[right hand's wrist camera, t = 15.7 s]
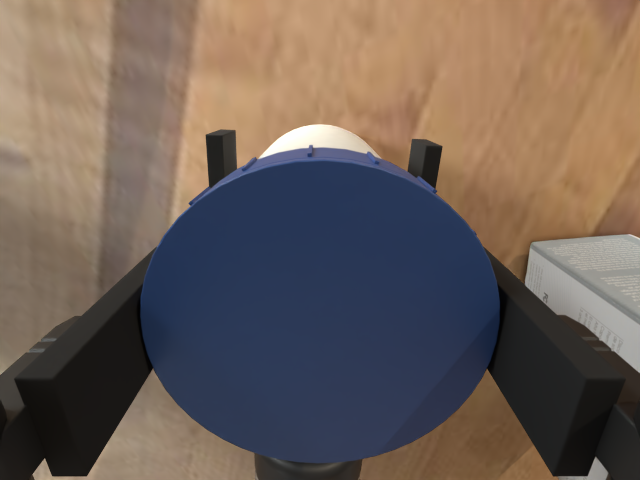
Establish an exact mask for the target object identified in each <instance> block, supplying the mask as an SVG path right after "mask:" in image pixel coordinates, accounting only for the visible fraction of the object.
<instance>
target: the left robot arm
mask: <svg viewBox="0 0 640 480" xmlns="http://www.w3.org/2000/svg"><path fill="white" fill-rule="evenodd" d="M206 146H207V161H208V176H209V187H210V188H212V187H213V186H214V185H216V184H217V183H218V182H219V181H220V180H222V179H223V178H225V177H226V176H228V175H229V174H231V173H232V172H234V171H235V170H237V159H236V132H235V130H218V131H215V132H212V133H209V134H207V135H206ZM441 152H442V146H441V145H438V144H436V143H433V142H431V141H428V140H424V139H412V144H411V151H410V158H409V166H408V172H409V173H410V174H411V175H413V176H414V177H415V178H417V177H418V176H419V177H421V178H422V179H423V180H424V181H426V182H427V183H428V184H429V185H431V186H432V187H433V188H434V189H435V188H436V182H437V176H438V170H439V164H440V158H441ZM361 465H362V459H359V460H354V461H346V462H338V463H304V462H294V461H287V460H281V459H276V458H272V457H268V456H264V455H260V454H257V453H255V480H360V471H361Z"/></svg>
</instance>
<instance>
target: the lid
mask: <svg viewBox="0 0 640 480" xmlns="http://www.w3.org/2000/svg"><path fill="white" fill-rule="evenodd" d="M436 192H437V190H435V189H434V188H433V187H432V186H431V185H429V184H428V183H427V182H426V181H424V180H423V179H422V178H421V177H419V176H418V177H417V178H415V177H414V176H413V175H411V174H410V173H409V172H407V171H405V170H403V169H401V168H399V167H398V166H396V165H394V164H392V163H390V162H388V161H385V160H383V159H380V158H377V157H375V156H374V155H373V154H372V153H371V152H369V151H368V152H367V154H365V153H361V152H356V151H352V150H348V149H338V148H326V147H318V148H313V145H309V148H300V149H294V150H289V151H283V152H278V153H275V154H272V155H269V156H266V157H263V158H260V159H256V157H255V158H252V159H251V160H250V161H249V162H248V163H247V164H246V165H245V166H243V167H240V168H238V169H237V170H235V171H234V172H232V173H231V174H229V175H228V176H226V177H225V178H223V179H222V180H220V181H219V182H218V183H217V184H216V185H214V186H213V187H212V188H210V187H208V188H206V189H205V190H204V191H203V192H201V193H200V194H199V195H198V196H197V197H195V198H194V199H193V200H192V201H191V202H189V204H190V205H191V206H190V207H189V208H188V209H187V210H186V211H185V212H184V213H183V214H181V215H180V216H179V217H178V219H177V220H176V221H175V222H174V224H173V225H172V226H171V227H170V229H169V230H168V231H167V232H166V234H165V235H164V236H163V238H162V240H161V242H160V243H159V245H158V247H157V248H156V250H155V252H154V254H153V256H152V258H151V261H150V264H149V266H148V269H147V272H146V274H145V279H144V284H143V288H142V293H141V309H140V319H141V328H142V336H143V340H144V344H145V347H146V351H147V355H148V357H149V359H150V362H151V364H152V366H153V369H154V371H155V373H156V375H157V376H158V378H159V380H160V381H161V383H162V384H163V386H164V388H165V389H166V391H167V392H168V393H169V394H170V396H171V397H172V398H173V399H174V400H175V402H176V403H177V404H178V405H179V406H180V407H181V408H182V409H183V410H184V411H185V412H186V413H187V414H188V415H189V416H190V417H191V418H192V419H194V420H195V421H196V422H198V423H199V424H200V425H202V426H203V427H204V428H206V429H207V430H208V431H210V432H212V433H213V434H215V435H217V436H218V437H220V438H222V439H223V440H225V441H228V442H230V443H232V444H234V445H236V446H238V447H240V448H243V449H246V450H248V451H251V452H254V453H257V454H260V455H264V456H268V457H272V458H276V459H281V460H287V461H294V462H304V463H338V462H346V461H354V460H359V459H364V458H368V457H373V456H377V455H380V454H383V453H386V452H389V451H392V450H395V449H397V448H400V447H402V446H404V445H406V444H409V443H411V442H413V441H415V440H417V439H418V438H420V437H422V436H424V435H425V434H427V433H429V432H430V431H432V430H433V429H434V428H436V427H437V426H439V425H440V424H441V423H443V422H444V421H445V420H447V419H448V418H449V417H450V416H451V415H452V414H453V413H454V412H455V411H456V410H458V409H459V408H460V406H461V405H462V404H463V403H464V402H465V401H466V400H467V398H468V397H469V396H470V395H471V394H472V392H473V391H474V389H475V388H476V386H477V385H478V383H479V382H480V380H481V379H482V377H483V375H484V373H485V371H486V369H487V367H488V365H489V363H490V361H491V358H492V355H493V352H494V348H495V345H496V342H497V336H498V330H499V324H500V299H499V293H498V287H497V281H496V277H495V274H494V271H493V268H492V265H491V262H490V260H489V258H488V256H487V254H486V252H485V250H484V248H483V246H482V244H481V242H480V240H479V239H478V238H477V236H476V235H477V234H476V233H475V232H474V231H473V230H472V229H471V228H470V227H469V225H468V224H467V223H466V221H465V220H464V219H463V218H462V217H461V216H460V215H459V214H458V213H456V212H455V211H454V210H453V209H452V208H451V207H450V206H449V205H448V204H447V203H446V202H445V201H444V200H443V199H441V198H440V197H439V196H438V195H437V194H435V193H436Z"/></svg>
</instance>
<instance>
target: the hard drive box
mask: <svg viewBox="0 0 640 480" xmlns="http://www.w3.org/2000/svg"><path fill="white" fill-rule="evenodd" d="M525 286H526V287H528V288H529V289H530V290H531V291H532V292H533V293H534V294H535V295H536V296H537V297H538V298H539V299H541V300H542V301H543V302H544V303H545V304H546V305H547V306H548V307H549V308H550V309H551V310H552V311H554V312H555V313H556V314H557V315H566V316H568V317H570V318H572V319H574V320H576V321H577V322H579V323H581V324H583V325H585V326H586V327H587V328H588V329H589V330H590V331H592V332H593V333H594V334H595V335H596V336H597V337H599V340H602V341H603V342H604V343H605V344H607V345H608V346H609V347H610V348H611V351H615V352H616V353H617V354H618V355H619V356H620V357H622V358H623V359H624V360H625V361H626V362H627V363H628V364H630V365H631V366H632V367H633V368H634V369H635V370H637V371H638V372H639V373H640V238H638V237H635V236H633V235H631V234H626V235H611V236H598V237H585V238H573V239H559V240H549V241H538V242H532V243H531V245H530V252H529V259H528V267H527V274H526V277H525ZM607 475H608V472H607V470H606V469H605V468H604V467H603V465H602V464H601V463H600V461H599V460H598V459H597V457H595V459H594V462H593V464H592V467H591V469H590V472H589V474H588V476H557V477H558V479H559V480H606V477H607Z"/></svg>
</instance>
